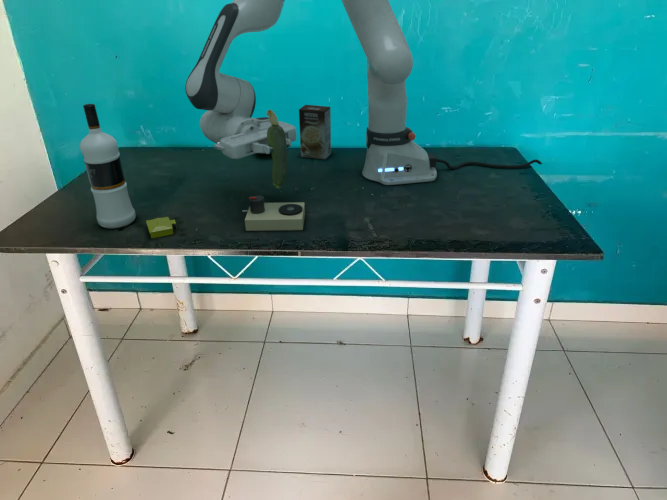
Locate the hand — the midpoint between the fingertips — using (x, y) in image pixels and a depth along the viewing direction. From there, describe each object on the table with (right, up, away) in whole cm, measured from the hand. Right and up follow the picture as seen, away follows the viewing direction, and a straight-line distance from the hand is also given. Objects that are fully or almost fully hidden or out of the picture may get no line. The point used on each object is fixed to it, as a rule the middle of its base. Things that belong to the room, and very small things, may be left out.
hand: (280, 147), depth 125 cm
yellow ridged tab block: (-30, -20, +5) cm, 36 cm away
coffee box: (+7, +7, +51) cm, 52 cm away
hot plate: (-2, -17, +8) cm, 19 cm away
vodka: (-43, -18, +9) cm, 47 cm away
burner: (+2, -15, +6) cm, 16 cm away
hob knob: (-6, -15, +6) cm, 17 cm away
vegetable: (0, -10, +6) cm, 11 cm away
